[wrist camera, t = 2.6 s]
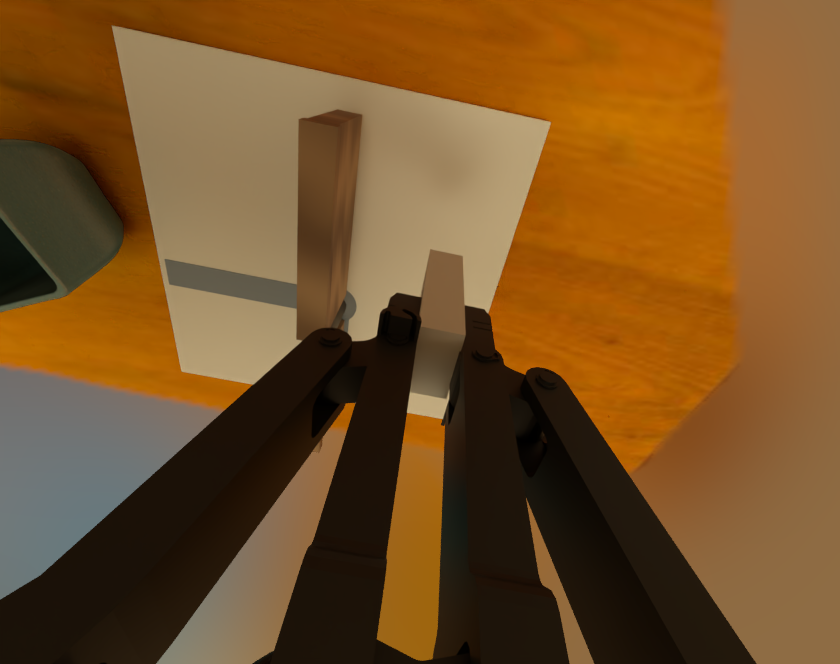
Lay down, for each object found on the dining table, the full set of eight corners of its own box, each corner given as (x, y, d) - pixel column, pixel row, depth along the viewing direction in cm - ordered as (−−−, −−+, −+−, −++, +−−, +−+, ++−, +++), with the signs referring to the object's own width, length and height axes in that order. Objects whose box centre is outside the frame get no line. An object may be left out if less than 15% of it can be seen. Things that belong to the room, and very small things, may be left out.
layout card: (123, 27, 23) (110, 25, 22) (547, 120, 24) (551, 122, 23) (187, 364, 37) (181, 372, 36) (452, 413, 39) (452, 421, 38)
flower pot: (84, 119, 26) (-64, 136, 19) (163, 242, 31) (70, 296, 23) (-14, 154, 28) (-186, 183, 20) (74, 266, 32) (-39, 323, 25)
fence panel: (348, 294, 30) (324, 344, 25) (325, 290, 30) (296, 339, 25) (364, 115, 24) (337, 127, 18) (335, 108, 23) (298, 119, 18)
